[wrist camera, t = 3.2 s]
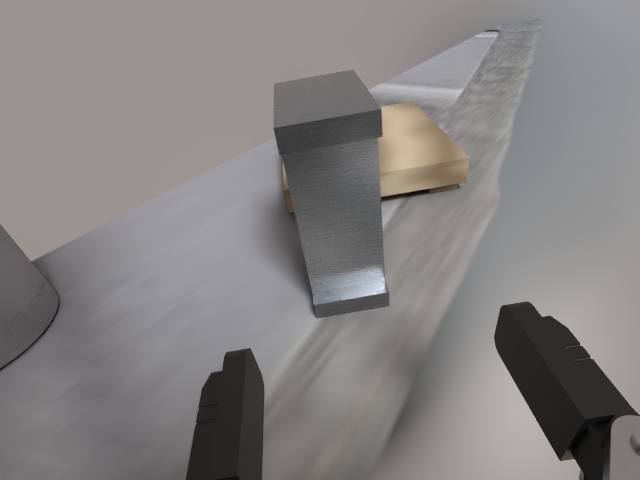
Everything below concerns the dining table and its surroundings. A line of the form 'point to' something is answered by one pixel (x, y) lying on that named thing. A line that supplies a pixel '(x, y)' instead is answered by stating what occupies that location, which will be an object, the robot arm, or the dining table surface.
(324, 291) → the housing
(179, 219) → the dining table surface
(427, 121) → the birch stand
